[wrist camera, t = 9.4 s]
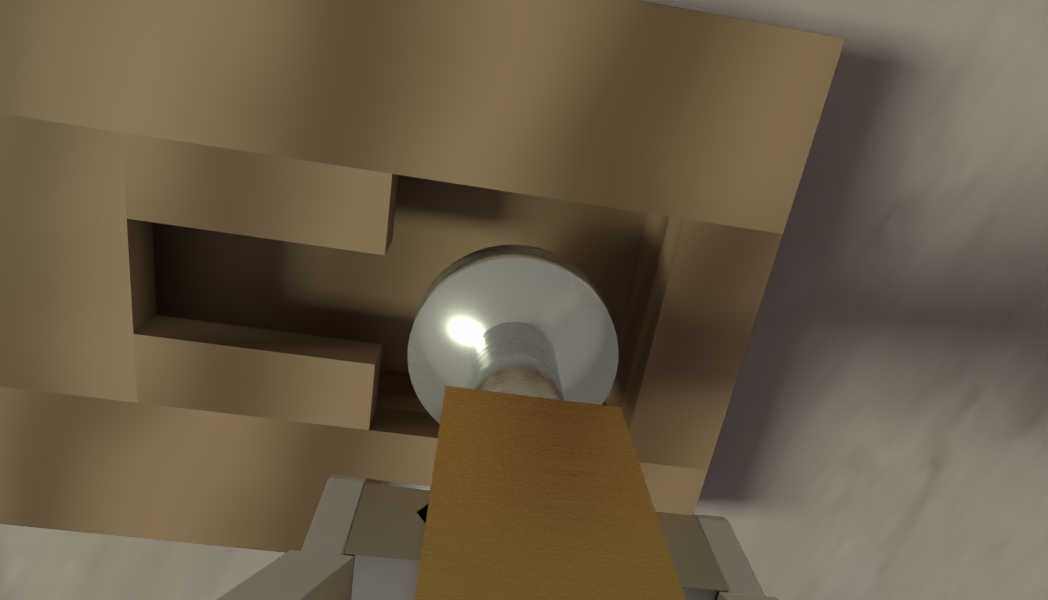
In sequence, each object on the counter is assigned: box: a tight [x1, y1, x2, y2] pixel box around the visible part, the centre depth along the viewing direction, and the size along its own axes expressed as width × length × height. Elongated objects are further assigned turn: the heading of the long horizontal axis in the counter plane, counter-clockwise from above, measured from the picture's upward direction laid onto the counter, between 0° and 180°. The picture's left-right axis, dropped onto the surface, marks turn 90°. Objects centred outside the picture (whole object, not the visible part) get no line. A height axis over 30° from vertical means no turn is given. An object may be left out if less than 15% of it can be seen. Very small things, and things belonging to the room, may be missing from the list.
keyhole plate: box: [0, 0, 845, 553], centre depth 19 cm, size 20×16×4 cm
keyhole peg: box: [407, 244, 685, 600], centre depth 12 cm, size 5×5×10 cm
